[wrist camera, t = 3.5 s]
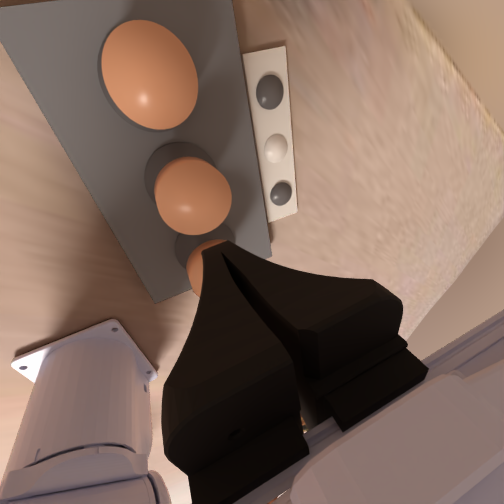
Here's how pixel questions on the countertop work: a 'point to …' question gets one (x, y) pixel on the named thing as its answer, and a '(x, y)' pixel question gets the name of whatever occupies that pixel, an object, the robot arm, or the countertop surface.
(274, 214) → the card
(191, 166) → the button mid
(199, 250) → the button
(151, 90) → the button
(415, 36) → the countertop surface
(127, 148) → the board
